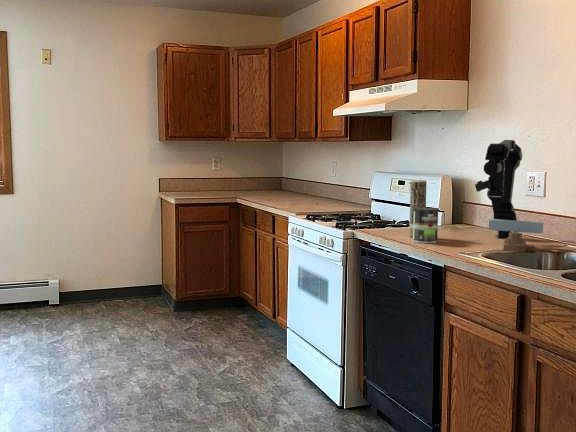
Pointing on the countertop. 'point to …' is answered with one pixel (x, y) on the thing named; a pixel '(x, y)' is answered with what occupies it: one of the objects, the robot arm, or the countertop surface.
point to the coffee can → (425, 225)
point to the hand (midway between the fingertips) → (495, 212)
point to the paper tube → (416, 199)
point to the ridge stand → (515, 242)
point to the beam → (516, 226)
